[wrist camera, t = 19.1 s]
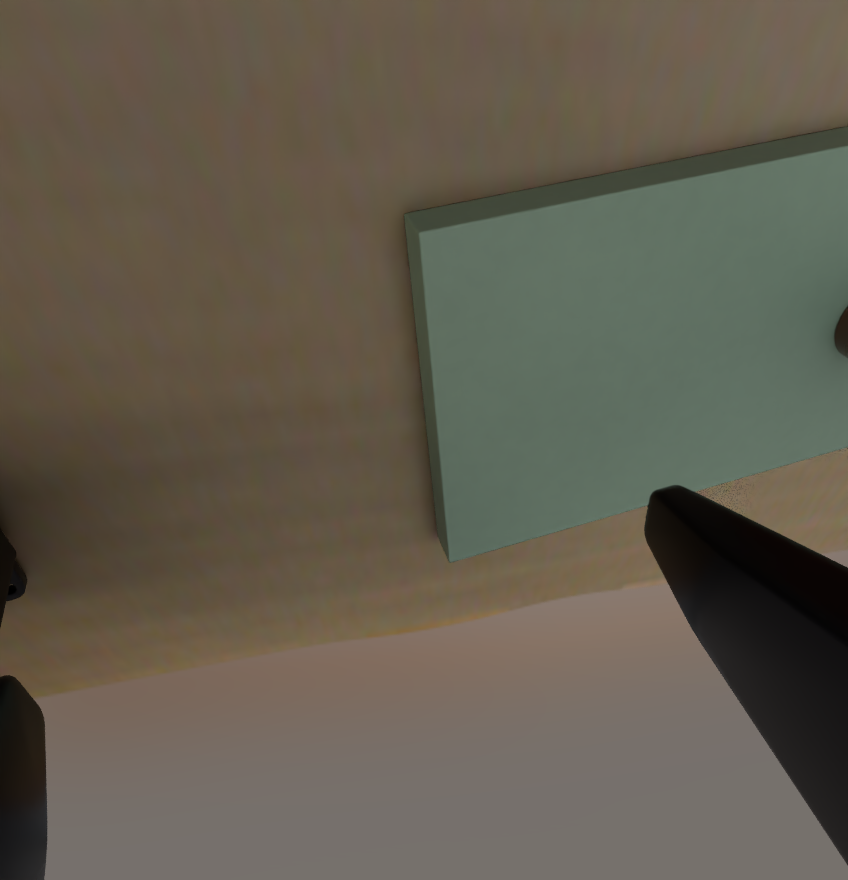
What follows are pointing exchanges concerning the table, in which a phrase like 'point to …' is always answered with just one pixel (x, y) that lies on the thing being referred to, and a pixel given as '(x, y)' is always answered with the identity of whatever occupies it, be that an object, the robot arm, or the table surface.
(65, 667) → the table surface
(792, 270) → the board
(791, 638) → the robot arm
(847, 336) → the stirrer
